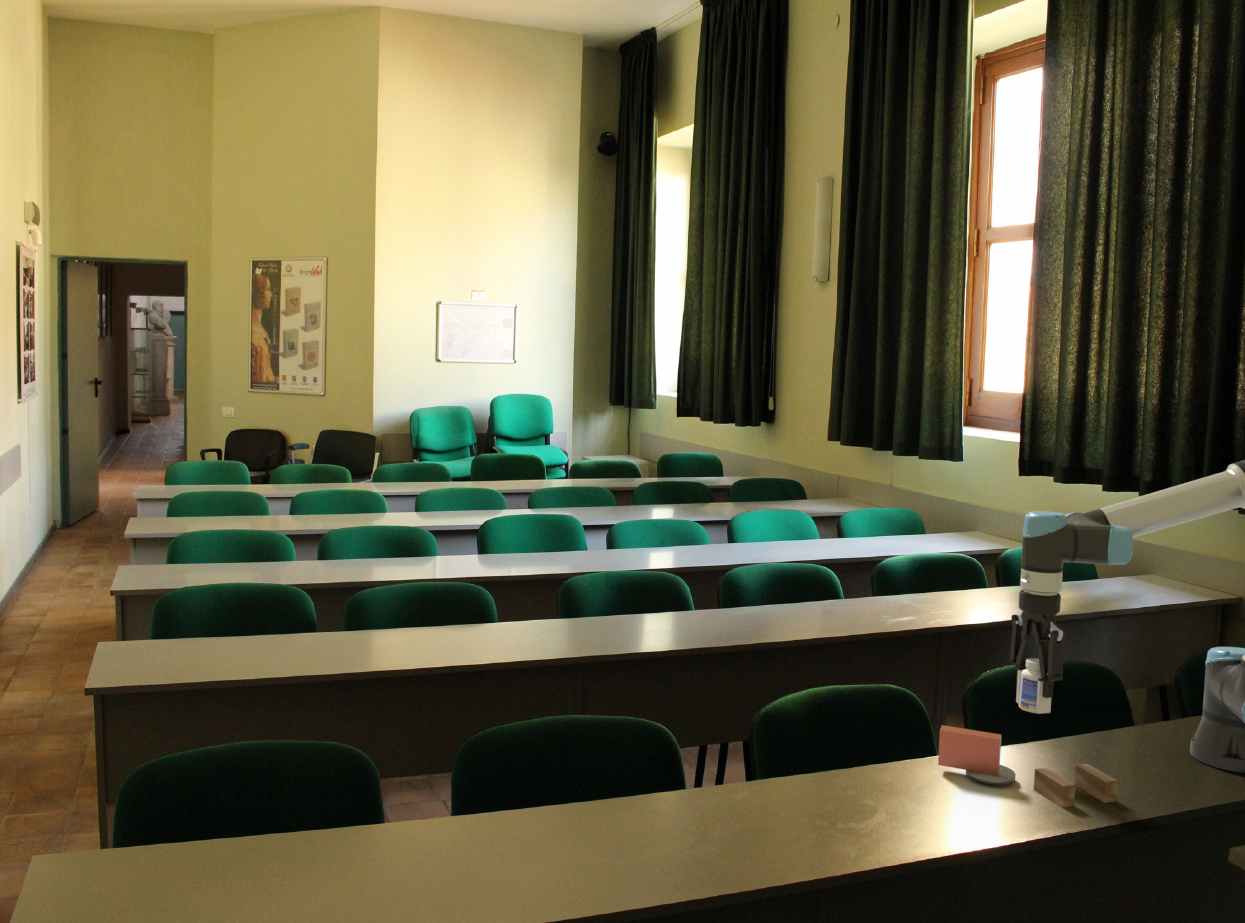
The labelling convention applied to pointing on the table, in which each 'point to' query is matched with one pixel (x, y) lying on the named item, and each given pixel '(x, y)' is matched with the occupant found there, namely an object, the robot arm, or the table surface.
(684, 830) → the table surface
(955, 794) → the table surface
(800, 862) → the table surface
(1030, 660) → the pill bottle
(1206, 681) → the robot arm
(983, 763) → the block on round base
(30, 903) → the table surface
